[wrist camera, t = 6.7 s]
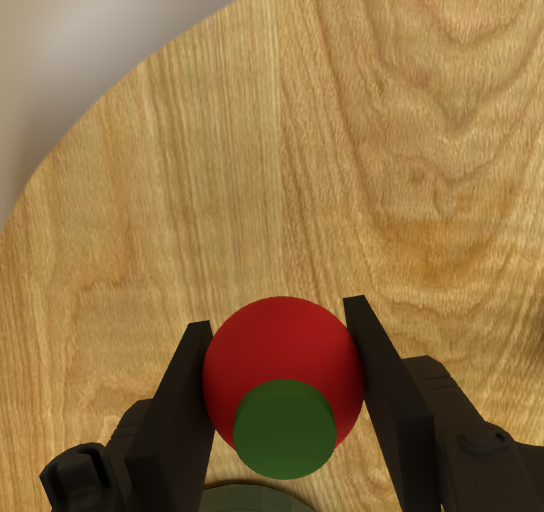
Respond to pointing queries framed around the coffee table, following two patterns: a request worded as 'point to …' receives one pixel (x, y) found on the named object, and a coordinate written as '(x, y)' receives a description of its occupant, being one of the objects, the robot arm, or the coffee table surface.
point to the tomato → (283, 385)
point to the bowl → (249, 500)
